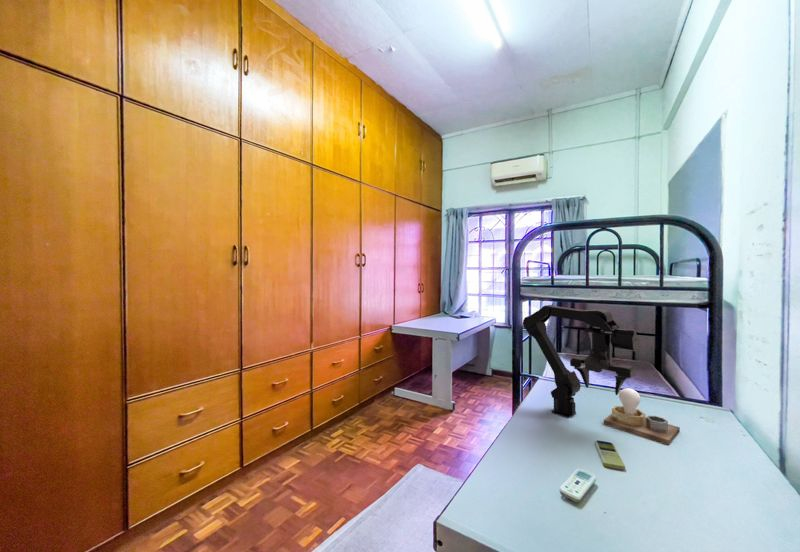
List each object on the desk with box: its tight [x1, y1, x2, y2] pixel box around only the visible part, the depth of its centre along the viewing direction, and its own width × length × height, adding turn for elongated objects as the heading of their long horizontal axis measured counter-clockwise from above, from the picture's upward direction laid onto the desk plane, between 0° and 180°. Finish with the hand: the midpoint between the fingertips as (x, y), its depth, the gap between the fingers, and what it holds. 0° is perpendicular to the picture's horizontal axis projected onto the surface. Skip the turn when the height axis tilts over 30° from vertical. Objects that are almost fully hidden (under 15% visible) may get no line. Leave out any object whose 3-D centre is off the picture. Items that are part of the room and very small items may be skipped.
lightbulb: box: [618, 387, 641, 416], centre depth 112 cm, size 6×6×11 cm
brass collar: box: [611, 405, 647, 426], centre depth 112 cm, size 9×9×3 cm
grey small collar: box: [646, 415, 669, 432], centre depth 106 cm, size 5×5×3 cm
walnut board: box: [603, 413, 681, 446], centre depth 110 cm, size 18×13×2 cm
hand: (601, 390), depth 112 cm, fingers open, 9 cm apart
